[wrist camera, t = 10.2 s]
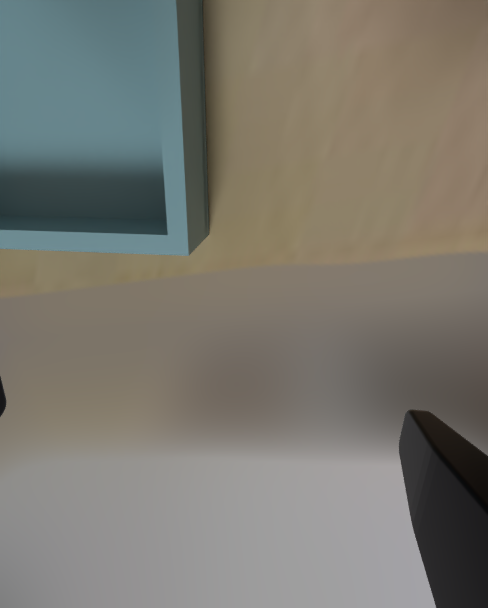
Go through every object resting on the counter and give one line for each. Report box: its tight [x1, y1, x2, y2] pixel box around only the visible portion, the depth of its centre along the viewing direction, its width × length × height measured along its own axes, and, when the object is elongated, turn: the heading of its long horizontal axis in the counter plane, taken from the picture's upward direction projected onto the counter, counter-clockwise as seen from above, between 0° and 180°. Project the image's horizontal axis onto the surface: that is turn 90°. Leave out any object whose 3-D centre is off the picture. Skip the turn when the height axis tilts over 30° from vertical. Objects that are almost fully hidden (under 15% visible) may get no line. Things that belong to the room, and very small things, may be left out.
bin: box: [0, 0, 209, 256], centre depth 16 cm, size 13×13×4 cm
